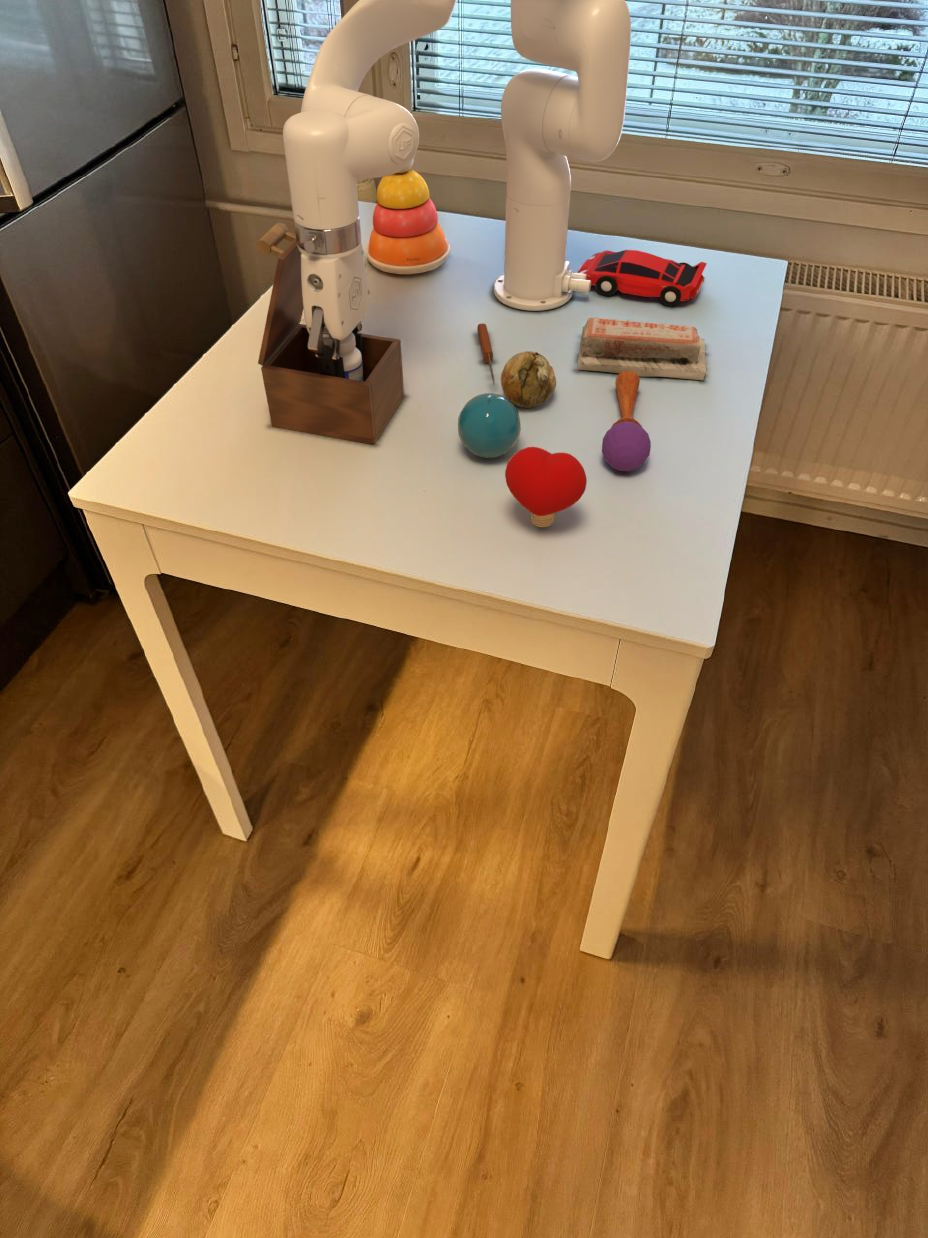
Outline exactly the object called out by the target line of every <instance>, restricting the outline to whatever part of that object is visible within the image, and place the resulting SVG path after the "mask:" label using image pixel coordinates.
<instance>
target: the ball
mask: <svg viewBox="0 0 928 1238" xmlns="http://www.w3.org/2000/svg"><path fill="white" fill-rule="evenodd" d="M521 425H522V424H521V416H520V413H519V411H518V409H517V407H516V406H515V404H514V403H513V402H512V401H510V400H509V399H508V398H507V397H506V396H505V397H504V396H503V395H501V394H497V393H493V392H488V393H487V392H485V393H481V394H478V395H476V396H474V397H473V398H471V399H469V400H468V401H467V402H466V403H465V405H464V406H463V407H462V409H461V410H460V412H459V414H458V418H457V434H458V437H459V440H460V442H461V443H462V445H463V446H464V447H465V448H466V450H467V451H469V452H470V453H471V454H473V455H475V456H477V457H480V458H483V459H494V458H498V457H501V456H503V455H505V454H506V453H508V452H509V451H511V450H513V448H514V447H515V445H516V443H517V442H518V439H519V437H520V435H521V431H522V428H521Z"/></svg>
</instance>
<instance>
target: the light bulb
mask: <svg viewBox="0 0 928 1238" xmlns="http://www.w3.org/2000/svg"><path fill="white" fill-rule="evenodd" d="M504 471H505V472H504V478H505V483H506V487H507V488H508V490H509V492H510V493H511V495H512V496H513V498H514V499H515V500H516V501H517V502H518V503H519V504H520V505H521V506H522V507H523V508H524V509H526V511H529V512H530V513H531V514H530V515H531V516H530V521H531V523H532V524H533V525H534V526H535V527H539V528H548V527H550V526H552V525H553V524H554V521H555V514H556V513H560V512H561V511H564V510H566V509H569V508H570V507H572V506H573V505H575V504H576V503H577V502H578V501H580V500H581V498H582V496H583V495H584V494H585V491H586V490H587V489H586V488H587V482H588V480H587V478H588V477H587V474H586V470H585V469H584V467H583V465H582V463H581V462H580V461H579V460H578V458H576V457H575V456H573V455H572V454H570V453H567V452H554V453H551V452H550V451H548V450H546V449H544V448H542V447H538V446H527V447H524V448H522V449H520V450H518V451H517V452H516V453H514V454H513V455H512V456H511V457H510V458H509V460H508V462H507V463H506V467H505V470H504Z"/></svg>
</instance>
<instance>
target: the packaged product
mask: <svg viewBox="0 0 928 1238" xmlns="http://www.w3.org/2000/svg"><path fill="white" fill-rule="evenodd" d="M705 345H706V344H705V338H701V336H700V334H699V332H698V329H697V327H696V326H691V325H683V324H669V323H661V322H659V323H658V322H648V321H647V322H646V321H638V320H626V319H616V318H606V317H596V316H595V317H589V318H587V320H586V323H585V324H584V325H583V326H582V330H581V339H580V345H579V354H578V360H577V368H578V371H593V372H603V373H612V374H620V373H621V372H624V371H633V372H635V373H636V374H637V375H638V376H639V377H660V378H661V377H664V378H674V379H675V378H676V379H685V380H697V381H704V378H705V376H706V373H707V366H706V365H707V364H706V363H707V362H706V346H705Z"/></svg>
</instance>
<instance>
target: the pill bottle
mask: <svg viewBox="0 0 928 1238" xmlns="http://www.w3.org/2000/svg"><path fill="white" fill-rule="evenodd" d="M323 340H324V344H325V345H328V346H330V347H331V348H332V339H326V338H324V339H323ZM355 346H356V342H355V336H354V334H353V333H352V332H351V333H350V334H349V335H348V336H347V337H346V338H345V339H343V340H340V355H339V357H343V365H344V375H345V379H351V380H357V381H363V382H364V380H363V366H362V355H361V352H360V351H359V350H358V349H357V348H356V347H355Z"/></svg>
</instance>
